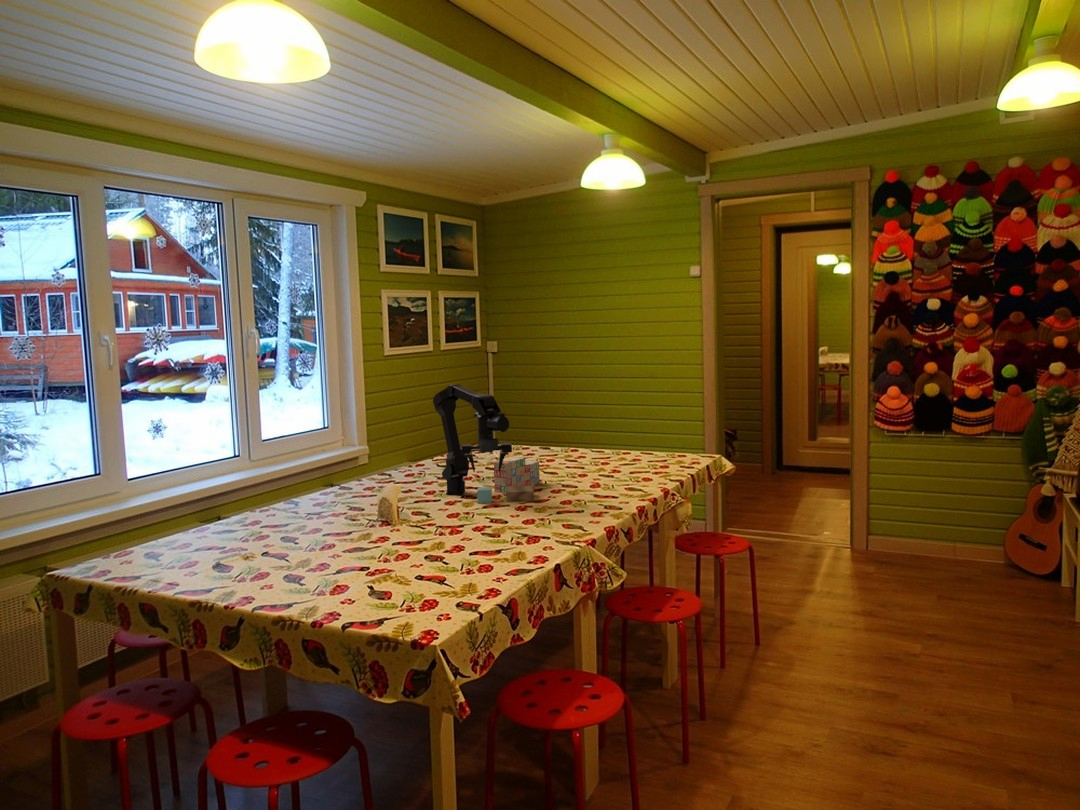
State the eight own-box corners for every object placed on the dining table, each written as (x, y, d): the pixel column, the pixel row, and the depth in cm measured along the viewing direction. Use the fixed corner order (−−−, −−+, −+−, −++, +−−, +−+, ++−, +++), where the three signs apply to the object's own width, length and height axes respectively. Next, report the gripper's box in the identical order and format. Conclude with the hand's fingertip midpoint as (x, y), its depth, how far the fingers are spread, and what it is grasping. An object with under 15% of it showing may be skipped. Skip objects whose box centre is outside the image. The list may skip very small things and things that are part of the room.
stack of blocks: (527, 482, 333) (527, 452, 332) (540, 484, 329) (539, 454, 328) (494, 492, 316) (493, 460, 315) (506, 494, 312) (505, 462, 311)
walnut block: (506, 502, 298) (506, 492, 298) (506, 496, 308) (506, 486, 308) (534, 501, 299) (533, 491, 298) (532, 495, 309) (532, 485, 308)
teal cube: (477, 503, 297) (477, 490, 296) (478, 500, 302) (478, 487, 301) (491, 503, 297) (491, 489, 296) (491, 500, 302) (491, 487, 301)
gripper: (459, 433, 288) (461, 476, 290) (512, 431, 290) (513, 474, 292) (460, 429, 299) (461, 470, 301) (510, 427, 301) (511, 469, 303)
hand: (486, 471), depth 299 cm, fingers open, 9 cm apart
